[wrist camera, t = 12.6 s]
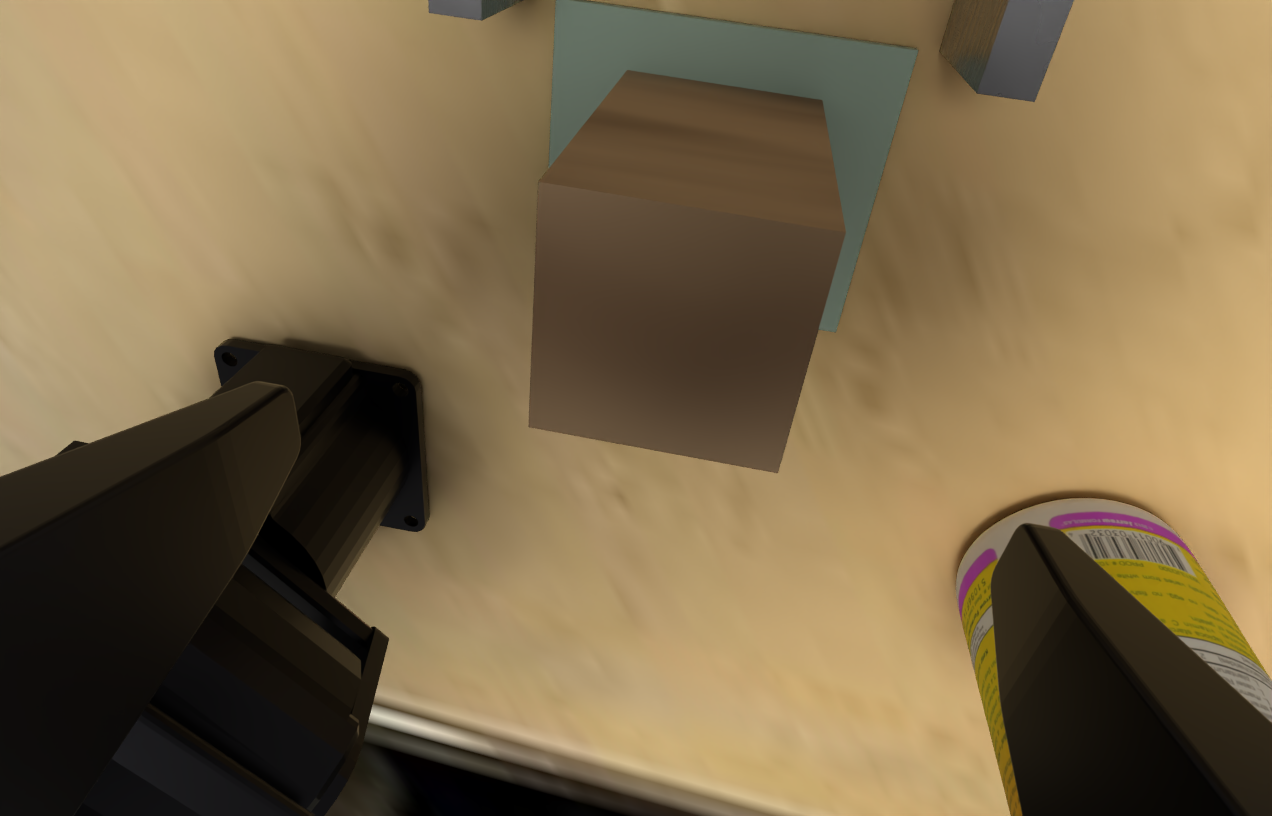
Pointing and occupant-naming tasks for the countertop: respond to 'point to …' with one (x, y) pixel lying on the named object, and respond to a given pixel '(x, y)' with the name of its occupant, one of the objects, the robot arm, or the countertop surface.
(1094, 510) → the supplement bottle
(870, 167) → the mat
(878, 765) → the countertop surface
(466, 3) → the bent rails
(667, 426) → the walnut block
